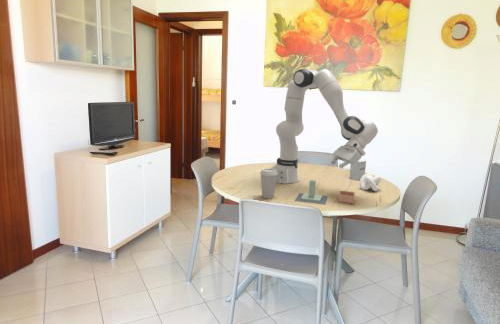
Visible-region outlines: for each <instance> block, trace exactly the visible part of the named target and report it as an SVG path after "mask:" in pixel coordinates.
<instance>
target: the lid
mask: <svg viewBox="0 0 500 324" xmlns="http://www.w3.org/2000/svg"><path fill="white" fill-rule="evenodd" d="M316 183H317V180H316V179H309V183H308V184H309V187H308V193H306V192H305V193H304V194H303V196H302V197H301V200H305V201H313V202H320V201H321V198H322V196H323V195H322V194H316V187H317V186H316V185H317V184H316Z"/></svg>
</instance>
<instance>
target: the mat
mask: <svg viewBox="0 0 500 324" xmlns="http://www.w3.org/2000/svg"><path fill="white" fill-rule="evenodd" d="M303 194H304V193H303V192H298V194H297V196H296V197H295V199H294V202H300V203H308V204H314V205H315V204H316V205H326V204H327V200H328V197H329V196H328V195H322V198H321V201H320V202H313V201H305V200H301V197H302V196H303Z"/></svg>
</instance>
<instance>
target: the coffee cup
mask: <svg viewBox="0 0 500 324" xmlns="http://www.w3.org/2000/svg"><path fill="white" fill-rule="evenodd" d="M259 174H260V180H261V181H260V182H261V183H260V184H261V197H262V198H263V199H266V198H271V199H273V198H275V192H276V184H277V182H276V178H277V175H278V173H277V171H276V170H275V169H270V168H268V167H267V168H262V169H261V170H260V172H259Z"/></svg>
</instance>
